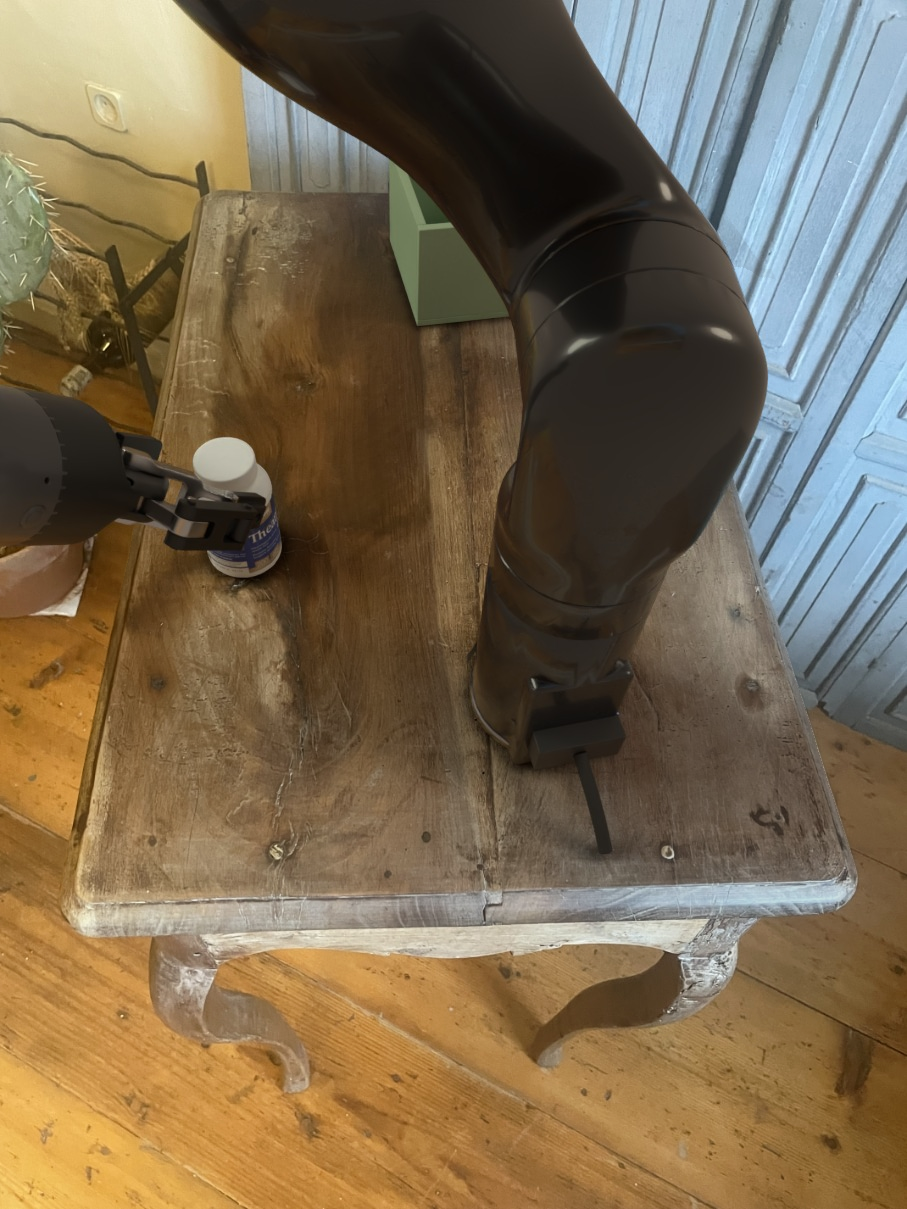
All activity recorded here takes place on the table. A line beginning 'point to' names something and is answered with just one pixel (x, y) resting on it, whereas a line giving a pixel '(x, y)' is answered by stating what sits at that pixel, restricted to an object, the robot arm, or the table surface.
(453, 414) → the table surface
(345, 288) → the table surface
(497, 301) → the bin
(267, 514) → the pill bottle
